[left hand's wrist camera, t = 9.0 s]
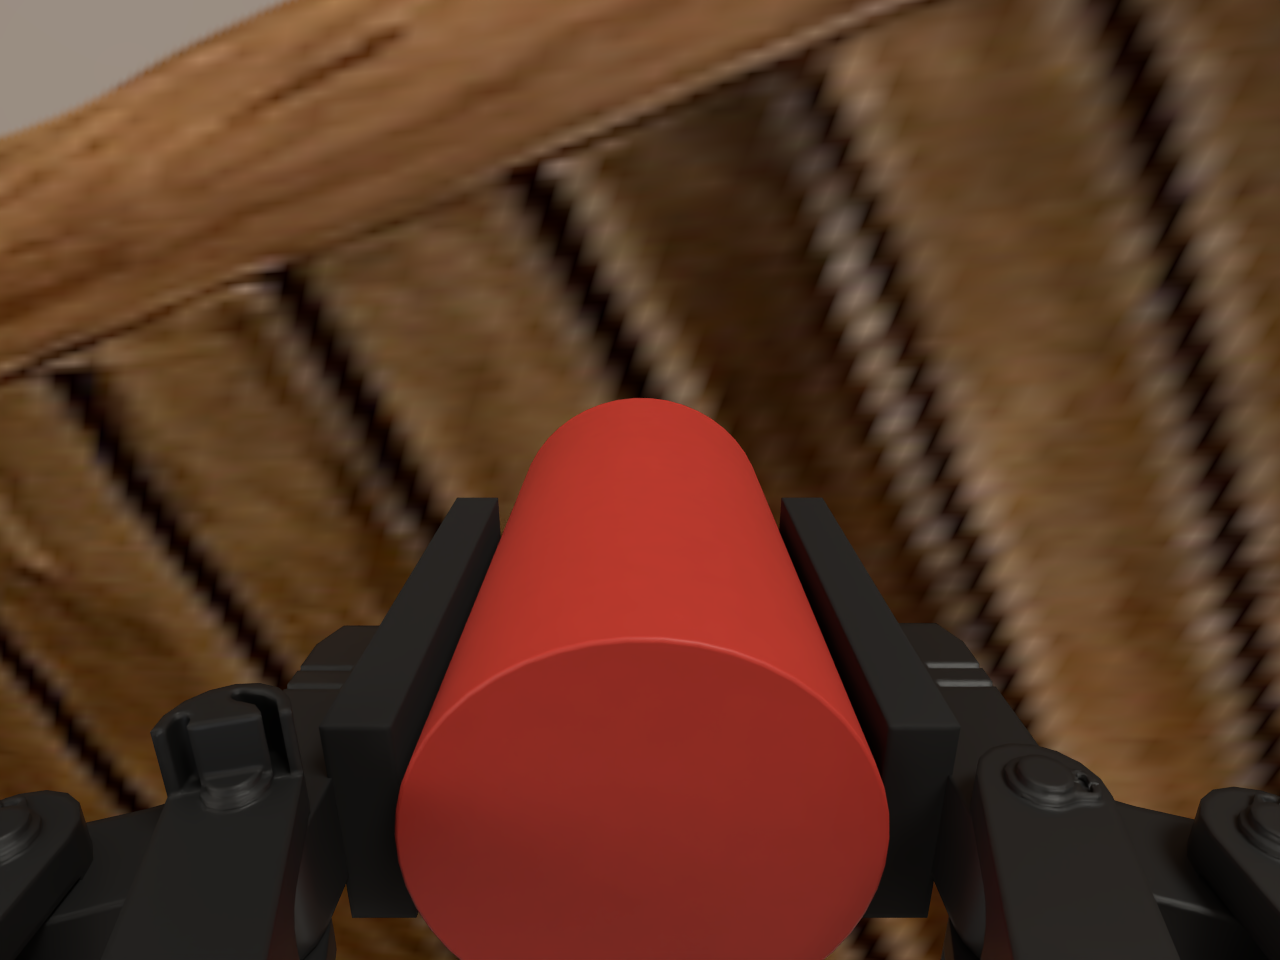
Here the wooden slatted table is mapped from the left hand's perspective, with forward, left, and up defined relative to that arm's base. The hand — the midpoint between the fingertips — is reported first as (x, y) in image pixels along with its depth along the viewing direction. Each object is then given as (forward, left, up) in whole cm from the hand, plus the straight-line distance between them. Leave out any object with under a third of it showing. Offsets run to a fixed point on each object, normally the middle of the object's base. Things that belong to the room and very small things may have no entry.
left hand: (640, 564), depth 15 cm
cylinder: (0, 0, -2) cm, 2 cm away
